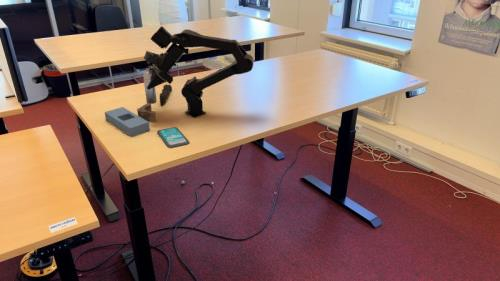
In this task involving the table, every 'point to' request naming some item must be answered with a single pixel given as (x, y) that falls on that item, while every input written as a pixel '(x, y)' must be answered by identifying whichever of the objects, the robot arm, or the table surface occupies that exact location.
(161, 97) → the hand tool
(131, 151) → the table surface
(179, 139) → the smartphone
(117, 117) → the grey block with hole
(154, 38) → the robot arm
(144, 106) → the v block
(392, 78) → the table surface
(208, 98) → the table surface
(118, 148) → the table surface
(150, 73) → the axle
